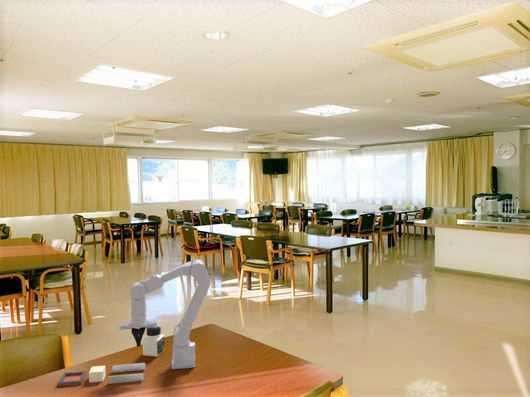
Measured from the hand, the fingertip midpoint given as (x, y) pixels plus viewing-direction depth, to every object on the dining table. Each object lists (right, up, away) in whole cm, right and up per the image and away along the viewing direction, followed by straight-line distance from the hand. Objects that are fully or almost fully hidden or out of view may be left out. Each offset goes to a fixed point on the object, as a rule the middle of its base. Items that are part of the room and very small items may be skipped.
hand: (138, 345), depth 167 cm
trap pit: (-22, -10, -10) cm, 26 cm away
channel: (-2, -10, -6) cm, 12 cm away
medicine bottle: (+2, -9, +15) cm, 18 cm away
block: (-13, -10, -8) cm, 19 cm away
